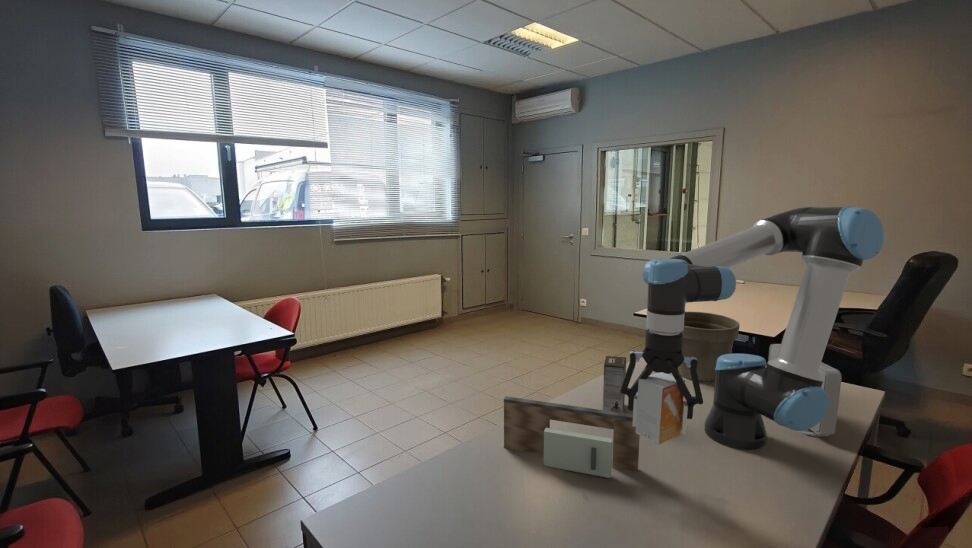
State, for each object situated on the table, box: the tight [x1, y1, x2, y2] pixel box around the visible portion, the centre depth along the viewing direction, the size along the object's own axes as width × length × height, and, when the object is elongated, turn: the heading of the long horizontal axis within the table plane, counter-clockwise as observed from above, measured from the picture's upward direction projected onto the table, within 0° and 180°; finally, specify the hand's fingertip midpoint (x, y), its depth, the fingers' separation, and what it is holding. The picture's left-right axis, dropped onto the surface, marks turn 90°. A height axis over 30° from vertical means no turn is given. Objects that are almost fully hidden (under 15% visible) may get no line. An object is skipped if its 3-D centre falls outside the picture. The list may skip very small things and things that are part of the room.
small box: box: [636, 372, 686, 446], centre depth 99 cm, size 8×6×13 cm
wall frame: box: [503, 396, 641, 473], centre depth 113 cm, size 34×2×14 cm, turn 70°
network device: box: [767, 343, 843, 437], centre depth 132 cm, size 26×9×20 cm, turn 178°
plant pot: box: [678, 311, 740, 382], centre depth 168 cm, size 25×25×22 cm
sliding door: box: [543, 427, 613, 479], centre depth 107 cm, size 16×3×9 cm, turn 70°
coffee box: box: [602, 355, 627, 413], centre depth 140 cm, size 9×6×16 cm
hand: (658, 427), depth 100 cm, fingers closed on small box, 10 cm apart
